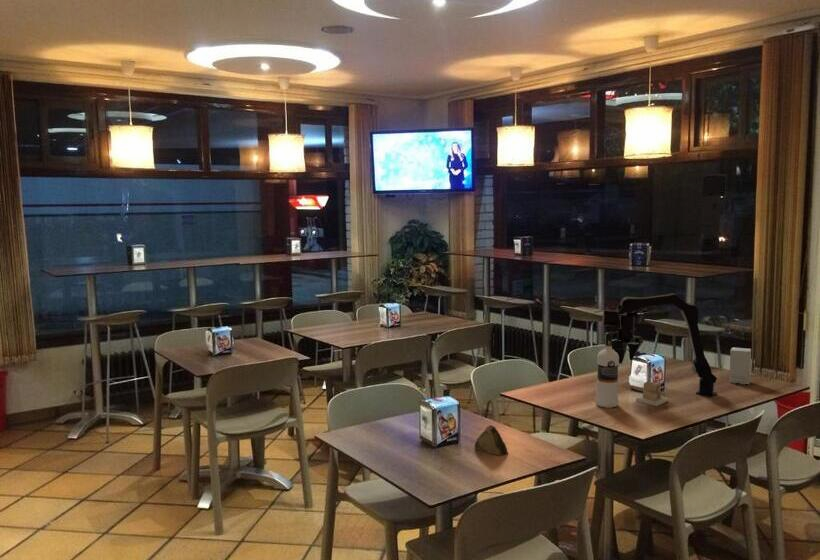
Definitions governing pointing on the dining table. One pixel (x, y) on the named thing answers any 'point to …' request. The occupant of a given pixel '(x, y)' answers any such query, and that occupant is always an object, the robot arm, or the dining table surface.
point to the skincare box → (740, 365)
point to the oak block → (651, 390)
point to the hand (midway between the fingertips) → (625, 361)
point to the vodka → (607, 375)
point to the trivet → (651, 402)
